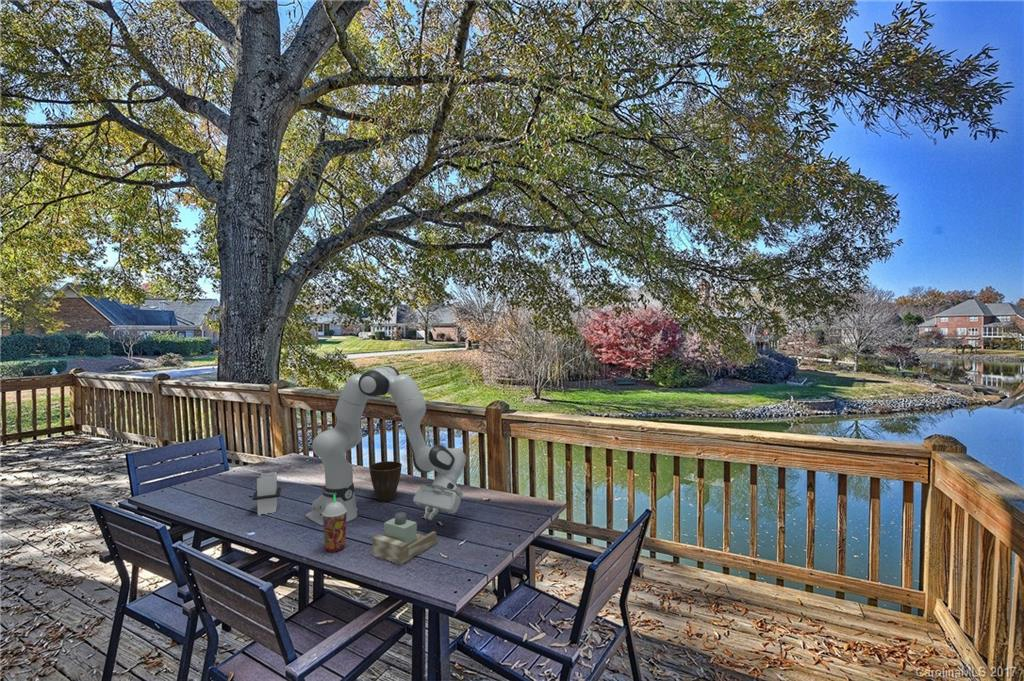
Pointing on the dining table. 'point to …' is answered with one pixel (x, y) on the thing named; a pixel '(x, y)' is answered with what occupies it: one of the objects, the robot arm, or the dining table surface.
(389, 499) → the plant pot
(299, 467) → the dining table surface
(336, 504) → the smoothie
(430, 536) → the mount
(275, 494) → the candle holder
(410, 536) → the slider
